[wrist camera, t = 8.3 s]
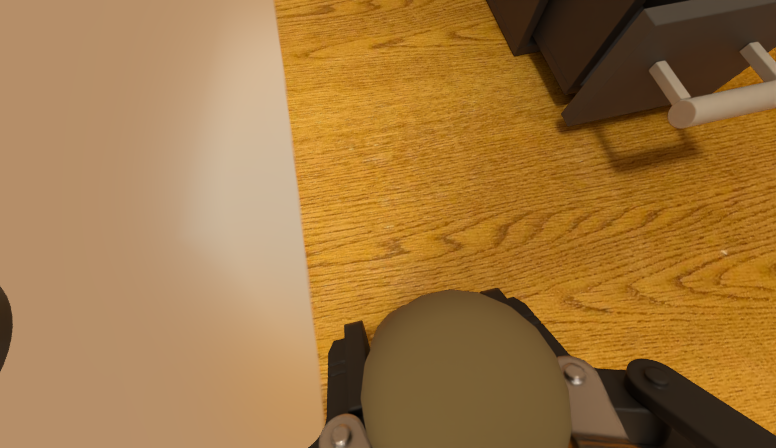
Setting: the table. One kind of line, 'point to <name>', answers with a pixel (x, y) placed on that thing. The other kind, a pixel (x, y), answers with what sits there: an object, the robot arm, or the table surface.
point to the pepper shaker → (463, 378)
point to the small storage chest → (518, 22)
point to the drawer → (659, 56)
